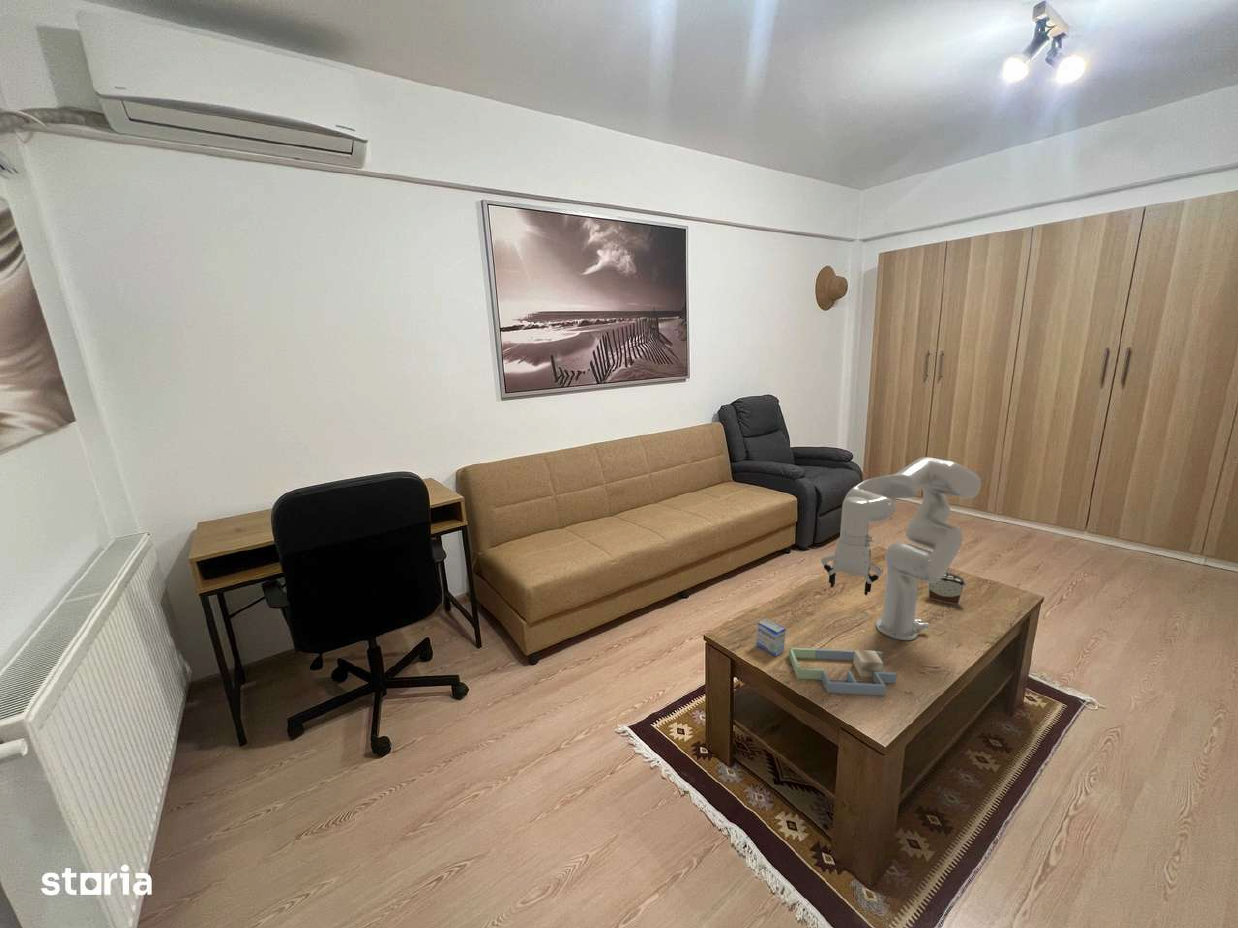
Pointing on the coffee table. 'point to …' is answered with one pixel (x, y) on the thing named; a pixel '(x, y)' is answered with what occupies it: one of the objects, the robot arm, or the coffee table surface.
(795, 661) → the tray
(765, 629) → the medicine box
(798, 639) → the coffee table surface
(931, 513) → the robot arm
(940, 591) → the food container
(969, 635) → the coffee table surface
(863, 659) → the birch block
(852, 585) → the coffee table surface
